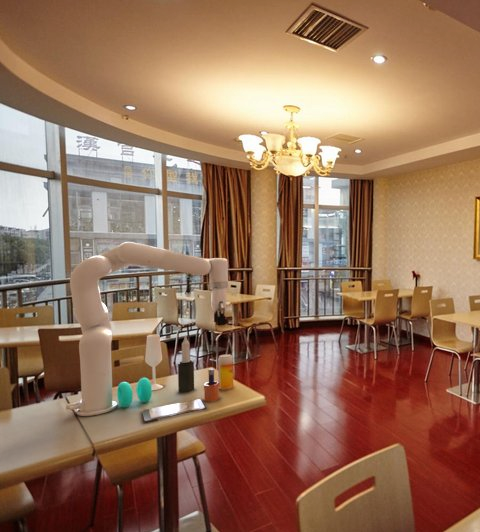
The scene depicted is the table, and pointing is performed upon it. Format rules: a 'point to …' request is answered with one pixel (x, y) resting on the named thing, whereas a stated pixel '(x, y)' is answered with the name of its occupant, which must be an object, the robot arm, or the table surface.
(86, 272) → the robot arm
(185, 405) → the tablet
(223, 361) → the beer glass
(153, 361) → the champagne flute
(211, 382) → the marker
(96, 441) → the table surface
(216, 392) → the pen cup
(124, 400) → the pair of turquoise ovals
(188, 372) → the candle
